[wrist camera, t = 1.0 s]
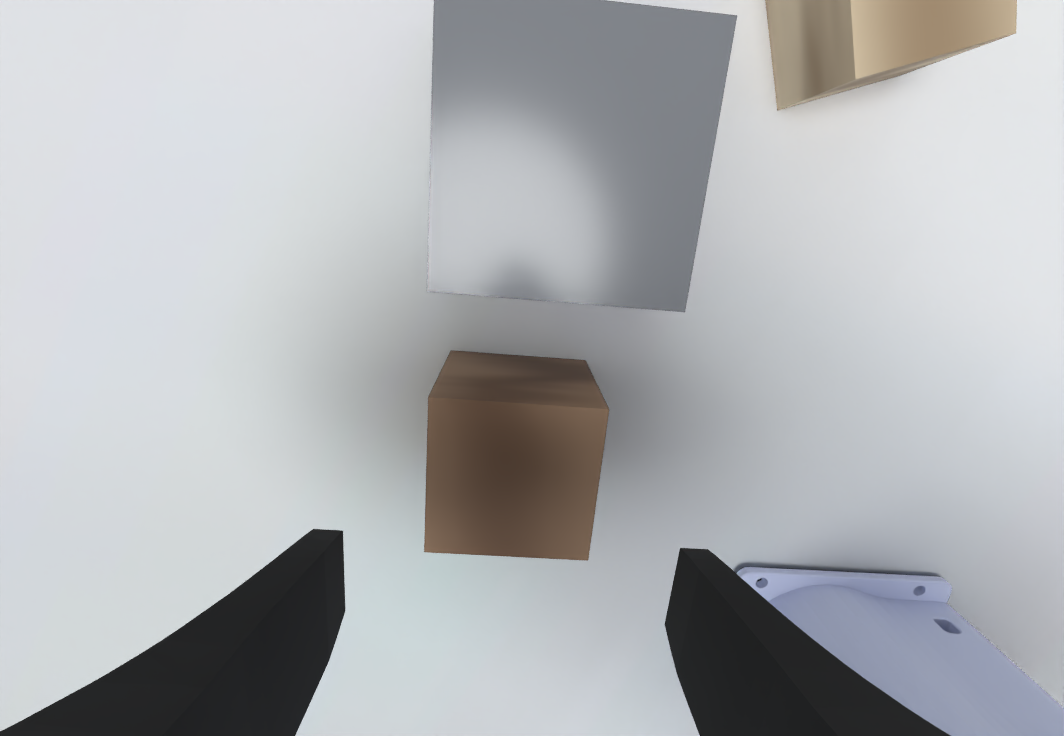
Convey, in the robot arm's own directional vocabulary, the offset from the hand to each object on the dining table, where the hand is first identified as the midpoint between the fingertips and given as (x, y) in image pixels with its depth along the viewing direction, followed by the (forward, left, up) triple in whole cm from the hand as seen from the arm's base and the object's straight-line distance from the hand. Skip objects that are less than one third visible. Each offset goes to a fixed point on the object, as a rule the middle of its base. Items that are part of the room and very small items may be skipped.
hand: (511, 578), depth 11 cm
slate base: (-1, -9, -9) cm, 13 cm away
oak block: (-9, -14, -9) cm, 19 cm away
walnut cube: (0, 0, -9) cm, 9 cm away
